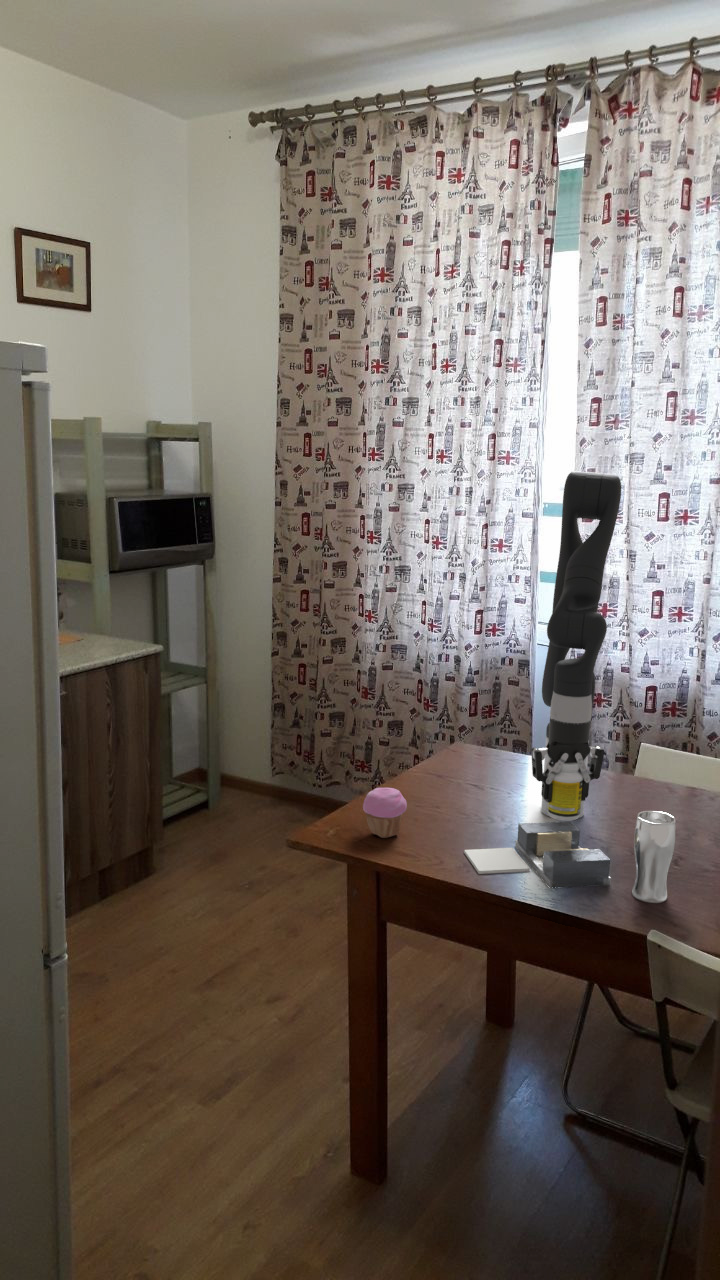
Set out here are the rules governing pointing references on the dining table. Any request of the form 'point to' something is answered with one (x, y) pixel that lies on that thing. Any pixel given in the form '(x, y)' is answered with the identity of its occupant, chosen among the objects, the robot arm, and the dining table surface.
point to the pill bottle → (566, 793)
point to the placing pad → (496, 860)
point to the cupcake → (384, 811)
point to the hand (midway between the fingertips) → (564, 799)
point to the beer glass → (653, 854)
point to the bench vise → (562, 855)
